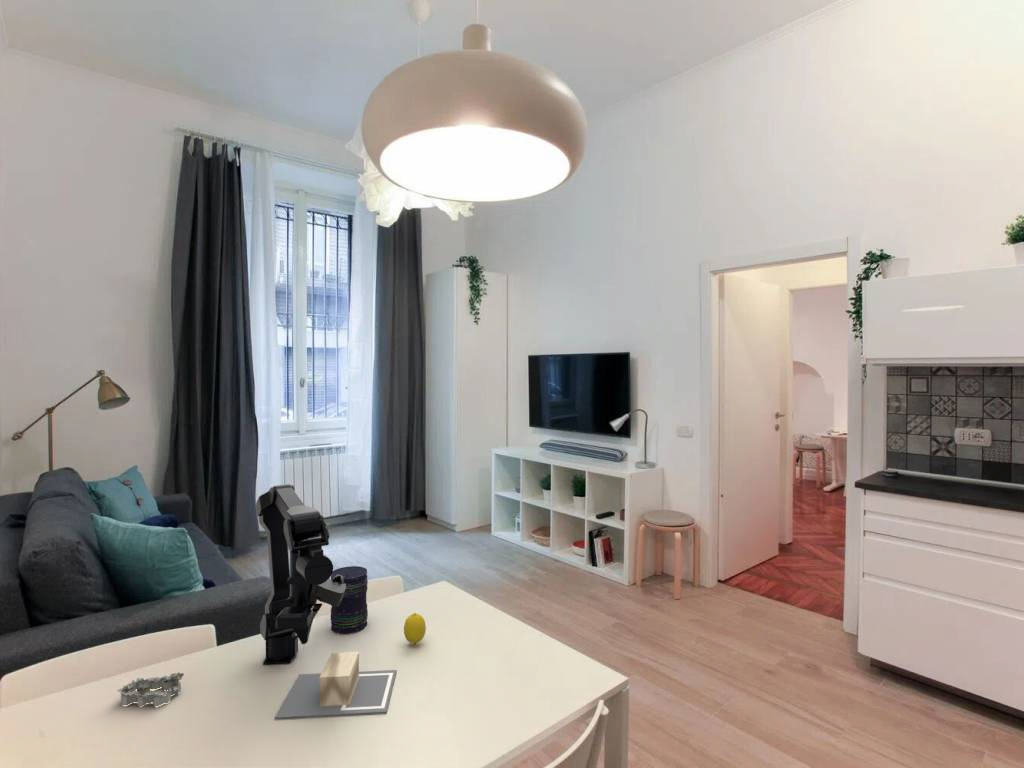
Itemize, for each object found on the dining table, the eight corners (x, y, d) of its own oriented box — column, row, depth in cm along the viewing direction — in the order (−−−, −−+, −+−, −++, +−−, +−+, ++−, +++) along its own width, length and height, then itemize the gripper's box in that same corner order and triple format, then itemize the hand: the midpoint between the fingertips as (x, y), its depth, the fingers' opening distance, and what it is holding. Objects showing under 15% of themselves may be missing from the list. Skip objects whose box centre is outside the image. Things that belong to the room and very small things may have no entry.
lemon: (421, 650, 136) (421, 618, 136) (400, 648, 138) (400, 616, 138) (428, 640, 142) (428, 609, 142) (408, 638, 143) (408, 607, 143)
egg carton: (186, 690, 120) (186, 672, 120) (161, 711, 112) (161, 691, 112) (141, 688, 121) (141, 669, 121) (113, 708, 113) (113, 688, 113)
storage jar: (334, 619, 155) (334, 566, 154) (370, 617, 156) (370, 565, 156) (326, 635, 145) (326, 579, 145) (364, 633, 146) (364, 577, 146)
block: (319, 677, 112) (349, 675, 113) (331, 653, 122) (358, 652, 123) (319, 706, 112) (349, 704, 113) (331, 679, 122) (358, 678, 123)
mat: (274, 719, 109) (274, 717, 109) (299, 676, 125) (299, 674, 125) (386, 713, 111) (386, 711, 111) (396, 671, 127) (396, 669, 127)
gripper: (332, 585, 108) (332, 663, 108) (351, 555, 127) (351, 622, 127) (274, 587, 107) (274, 666, 107) (302, 556, 126) (302, 624, 126)
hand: (304, 642), depth 117 cm, fingers closed
